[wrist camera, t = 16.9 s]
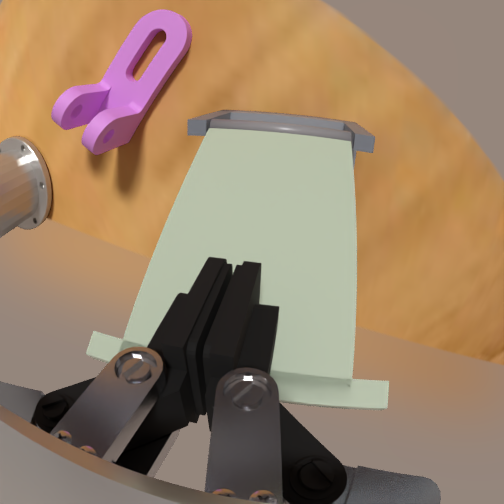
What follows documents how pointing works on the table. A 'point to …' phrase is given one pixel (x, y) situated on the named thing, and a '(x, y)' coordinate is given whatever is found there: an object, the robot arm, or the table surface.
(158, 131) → the table surface
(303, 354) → the lid
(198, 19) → the table surface
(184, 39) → the bracket
